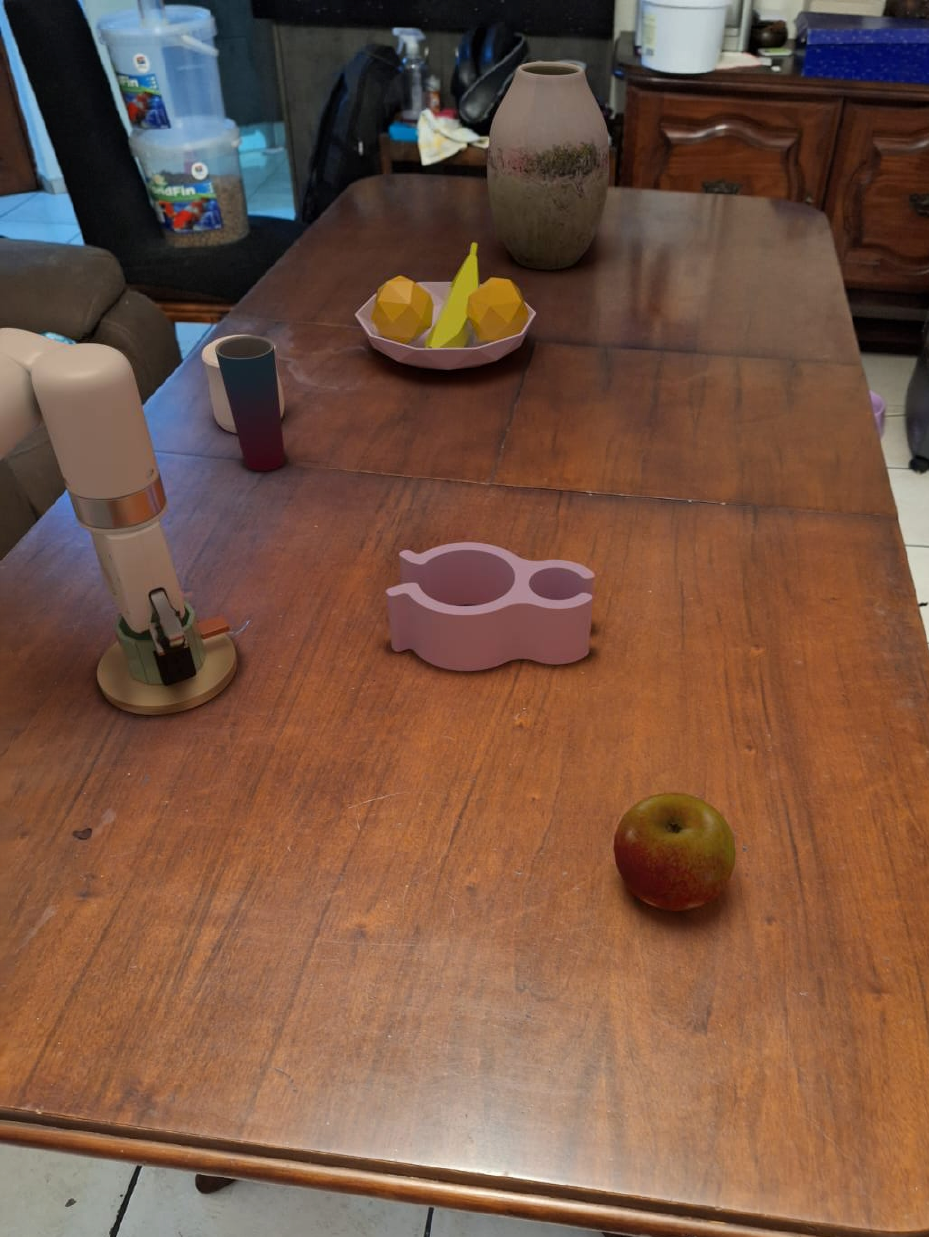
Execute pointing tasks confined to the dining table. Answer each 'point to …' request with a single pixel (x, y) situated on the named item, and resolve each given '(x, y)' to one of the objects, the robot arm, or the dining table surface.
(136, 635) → the green mug
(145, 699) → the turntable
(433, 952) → the dining table surface
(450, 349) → the fruit bowl
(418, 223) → the dining table surface
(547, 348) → the dining table surface
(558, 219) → the vase
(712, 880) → the fruit
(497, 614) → the clip
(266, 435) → the cup
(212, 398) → the cup
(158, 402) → the dining table surface
